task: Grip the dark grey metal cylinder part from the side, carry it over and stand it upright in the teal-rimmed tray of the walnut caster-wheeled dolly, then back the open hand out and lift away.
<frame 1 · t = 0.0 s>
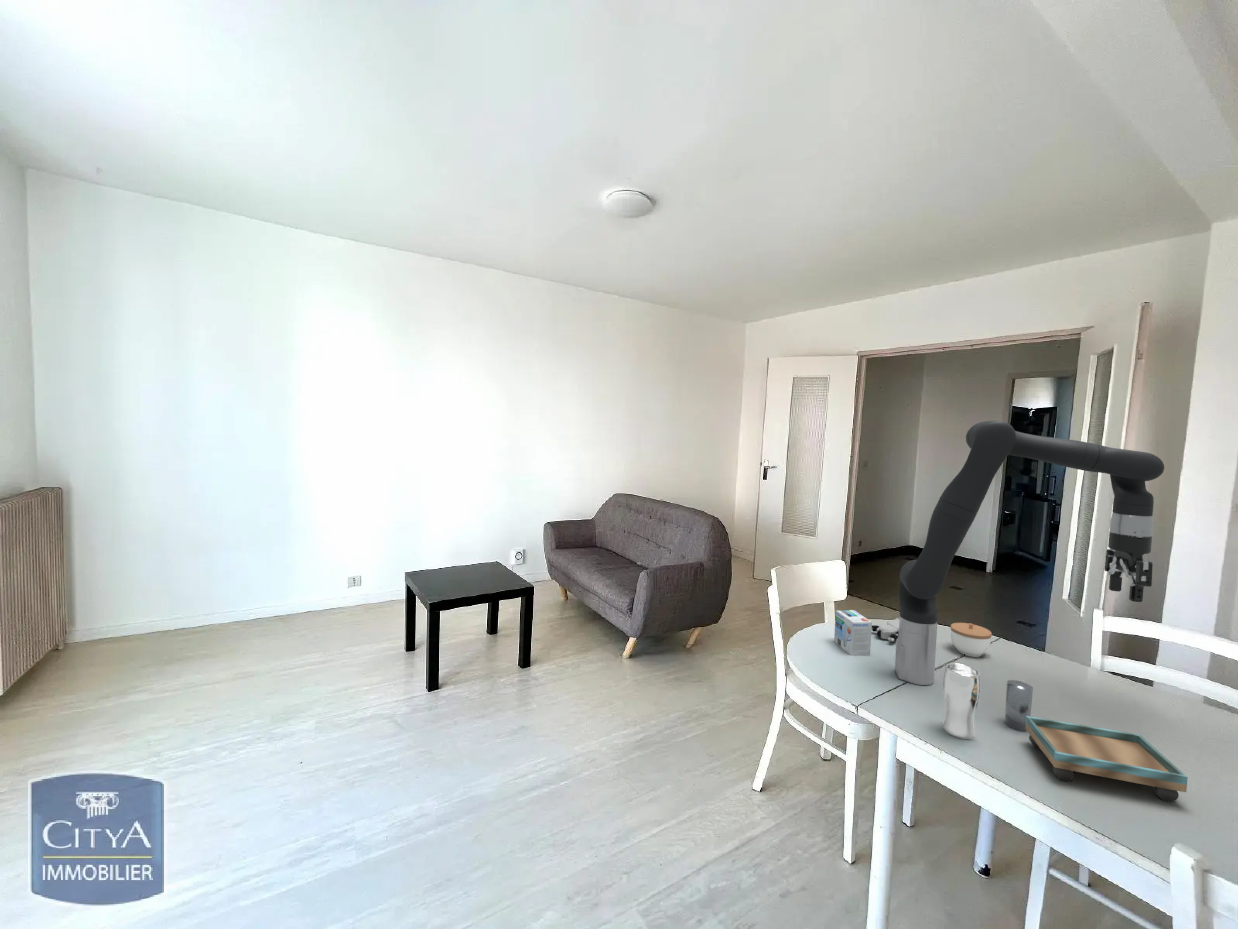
hand: (1124, 596, 127), 29 cm above the table, tool pointing down, fingers open, 8 cm apart
beer glass: (958, 732, 118), on the table
dolly: (1098, 757, 104), point 3 cm above the table, slide at 0.0 cm
metal part: (1016, 725, 121), on the table
lidded jar: (969, 653, 161), on the table
robot toy: (895, 638, 172), on the table
light bulb box: (851, 649, 163), on the table
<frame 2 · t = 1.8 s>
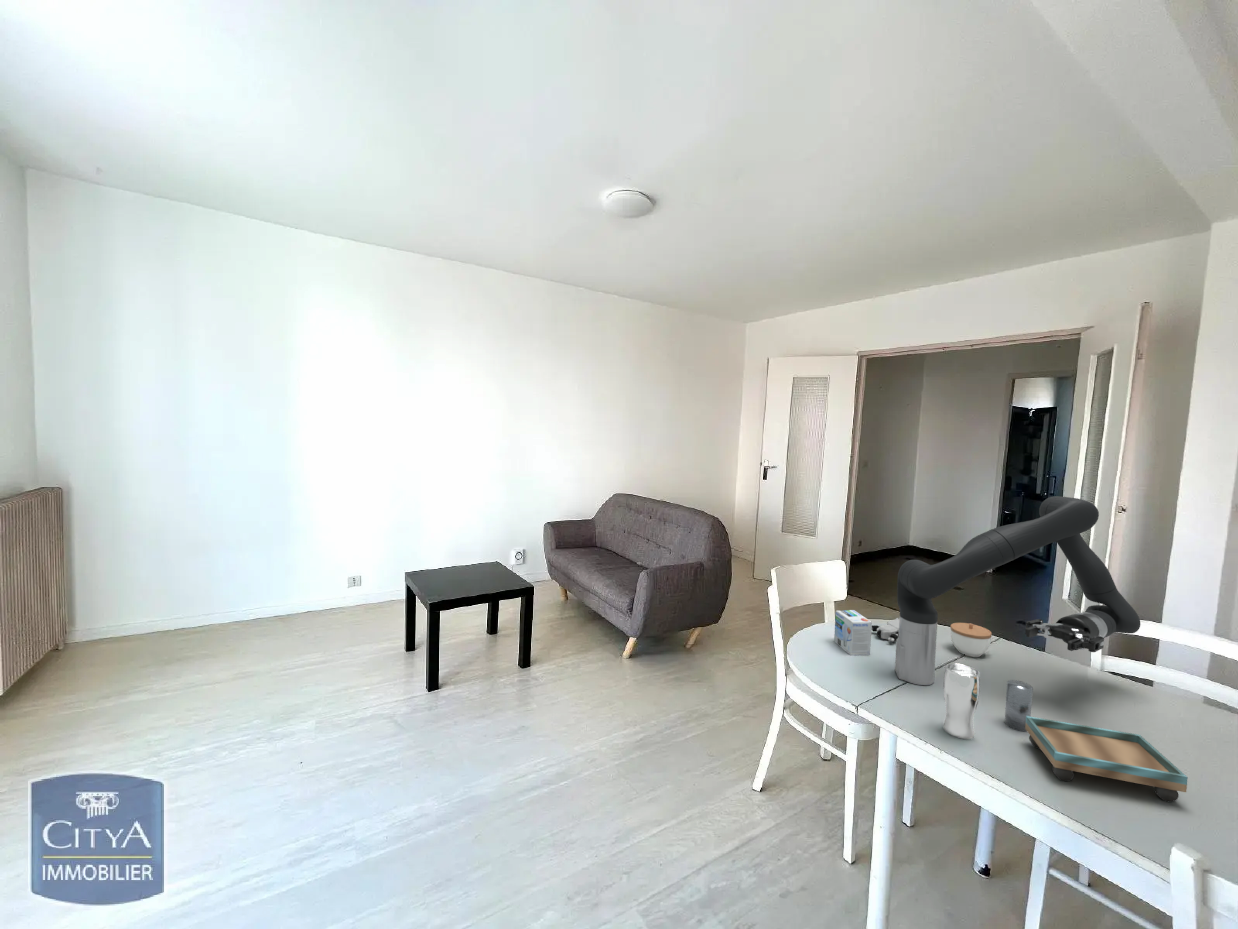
hand: (1048, 639, 124), 19 cm above the table, tool horizontal, fingers open, 8 cm apart
nothing on the table moved.
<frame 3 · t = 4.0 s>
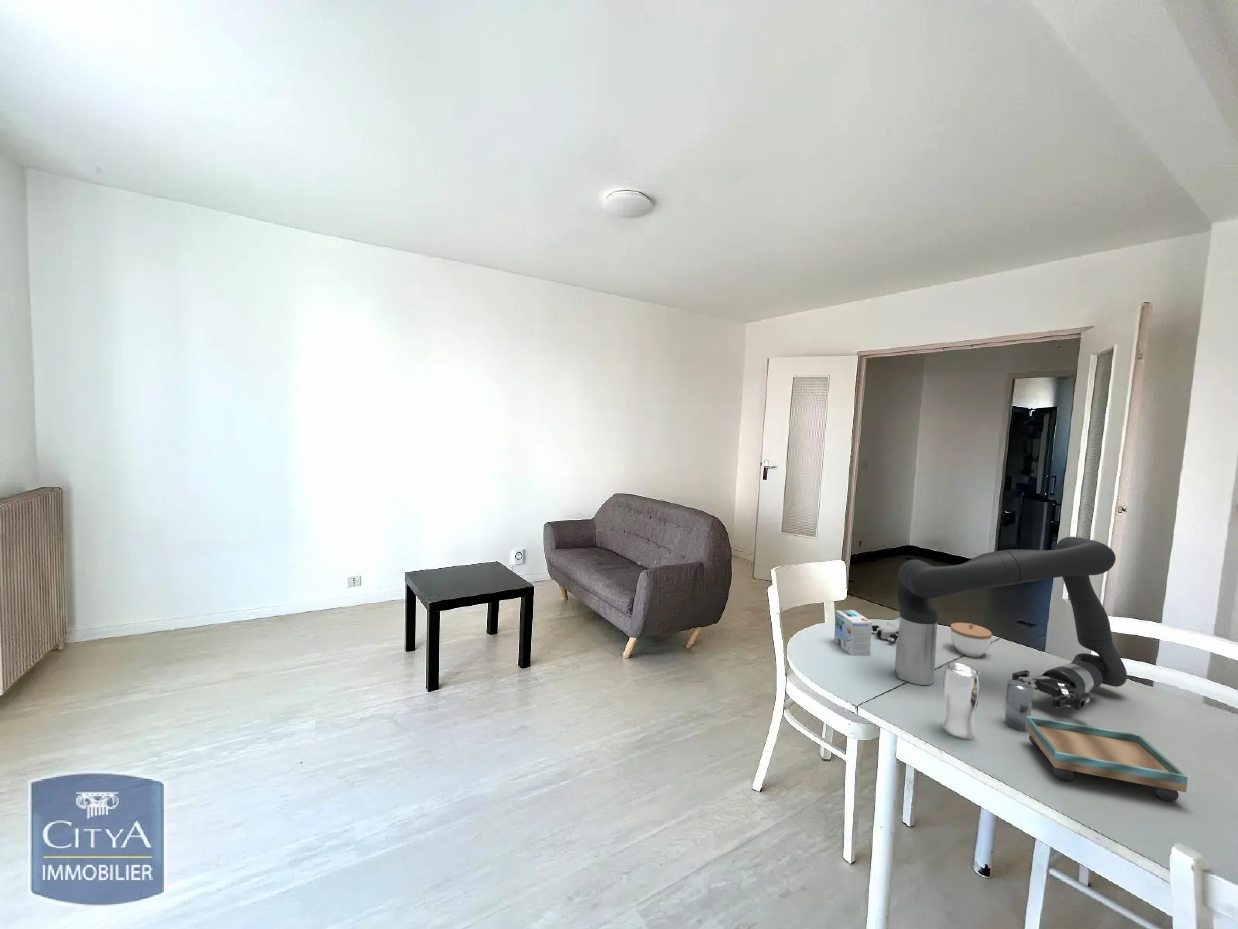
hand: (1033, 695, 123), 6 cm above the table, tool horizontal, fingers open, 8 cm apart
nothing on the table moved.
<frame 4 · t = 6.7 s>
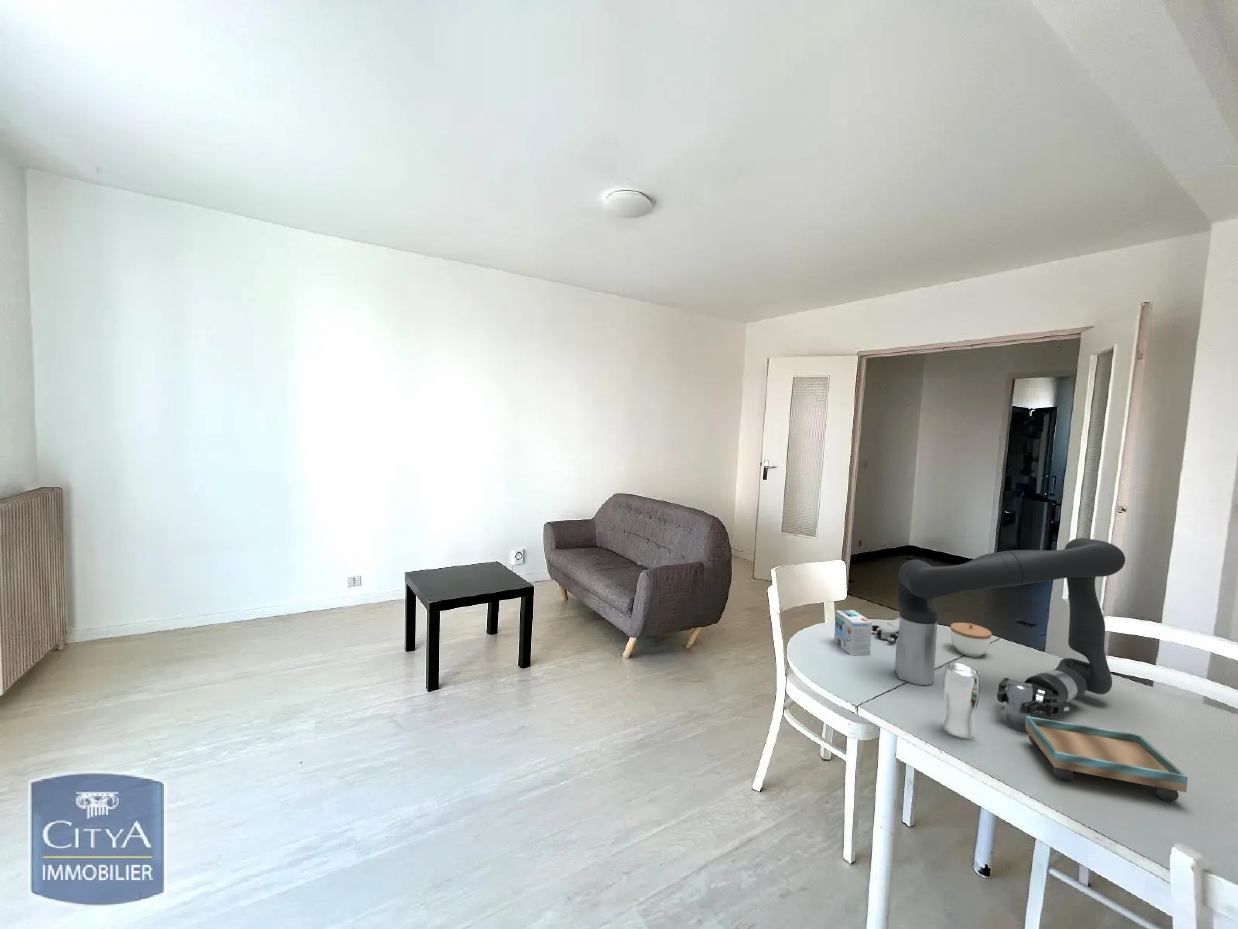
hand: (1012, 703, 119), 6 cm above the table, tool horizontal, fingers closed on metal part, 4 cm apart
metal part: (1017, 725, 121), on the table, touching gripper
everything else where it was.
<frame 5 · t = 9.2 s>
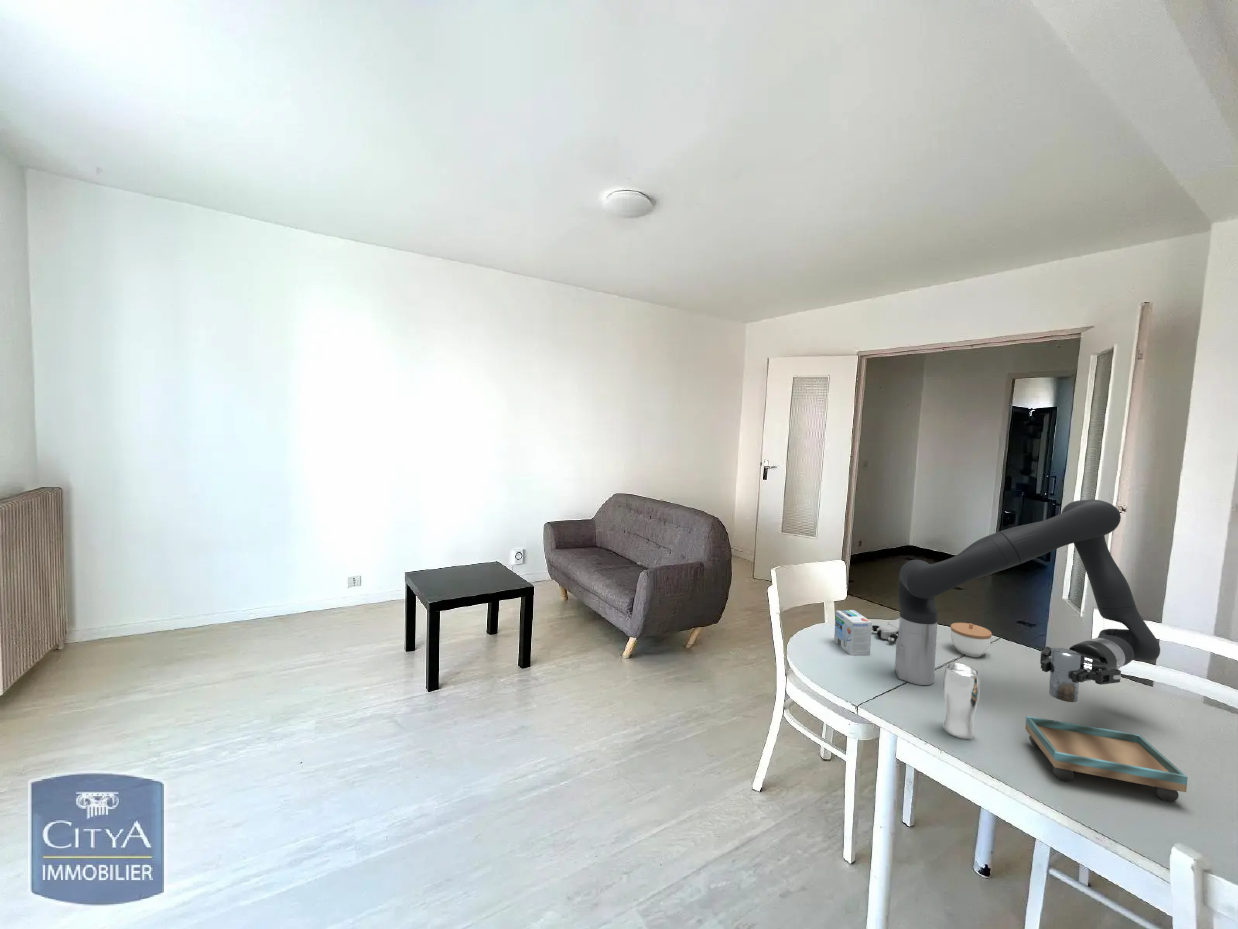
hand: (1059, 672, 110), 18 cm above the table, tool horizontal, fingers closed on metal part, 4 cm apart
metal part: (1063, 696, 111), point 12 cm above the table, touching gripper
everything else where it was.
when the fingers open (12 cm above the table, at t = 11.7 s): metal part drops 1 cm, resting on dolly.
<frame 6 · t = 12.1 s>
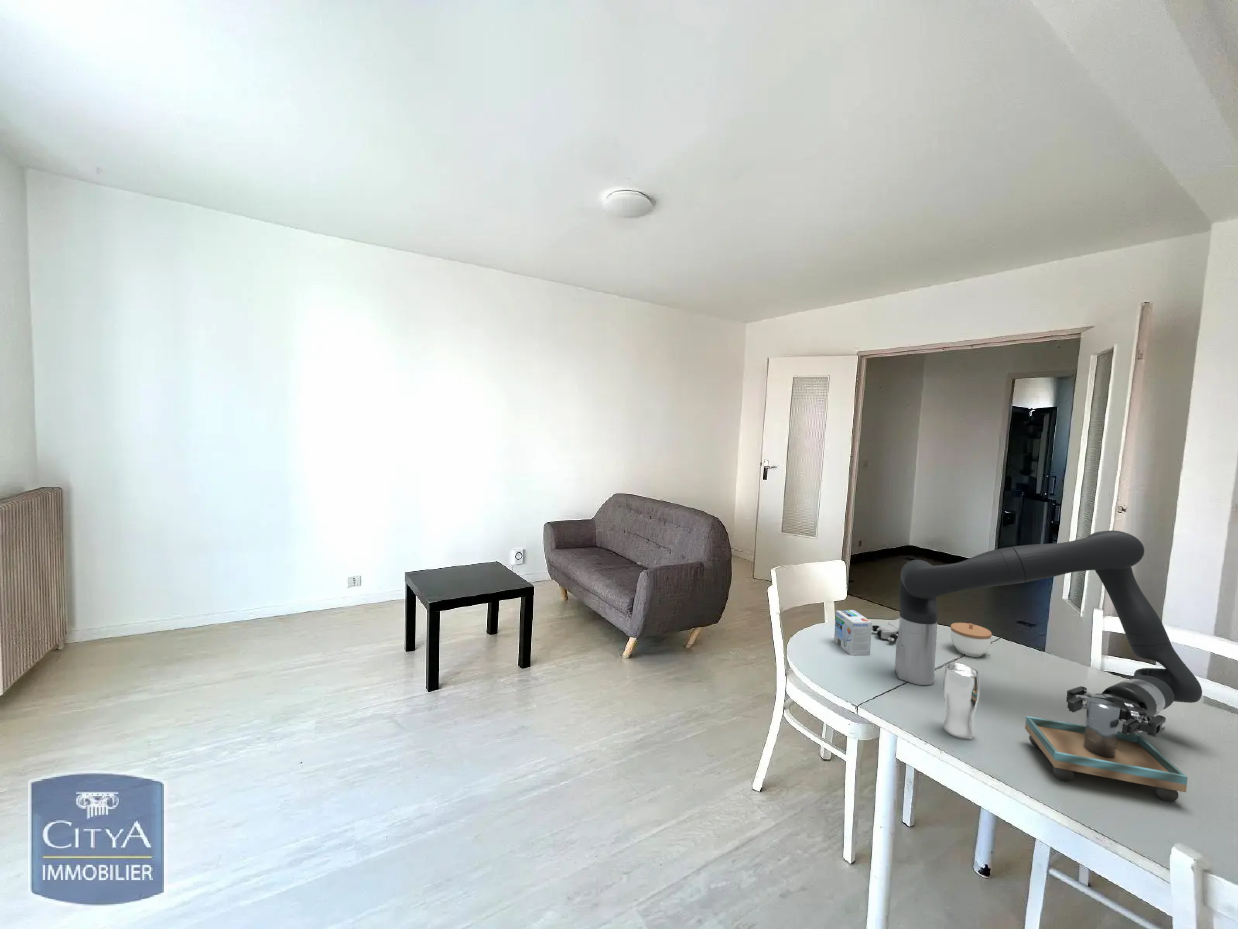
hand: (1096, 717, 103), 12 cm above the table, tool horizontal, fingers open, 8 cm apart
dolly: (1097, 757, 104), point 3 cm above the table, slide at 0.0 cm, touching metal part
metal part: (1099, 750, 104), point 5 cm above the table, touching dolly
everything else where it was.
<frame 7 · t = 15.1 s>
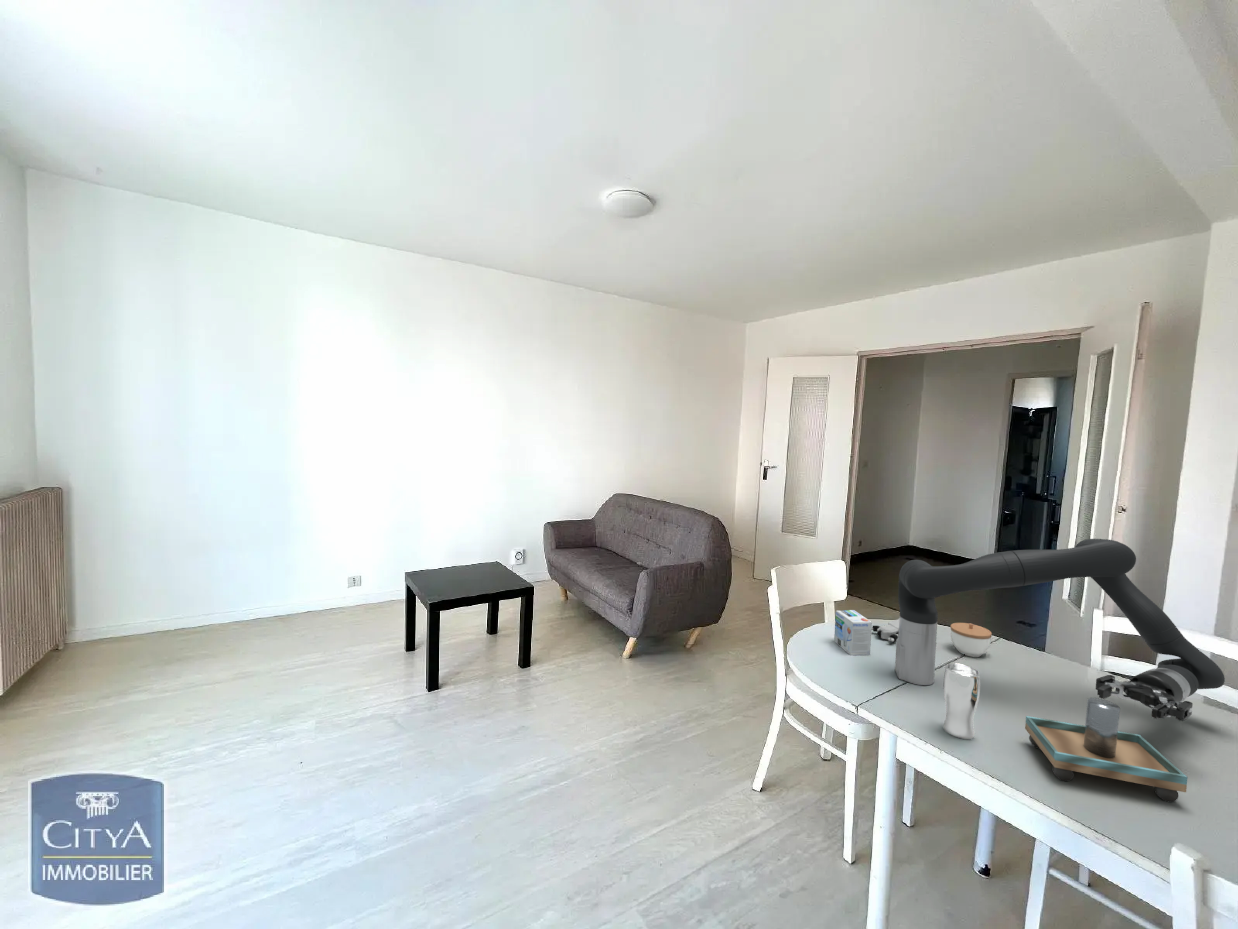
hand: (1126, 703, 108), 12 cm above the table, tool horizontal, fingers open, 8 cm apart
nothing on the table moved.
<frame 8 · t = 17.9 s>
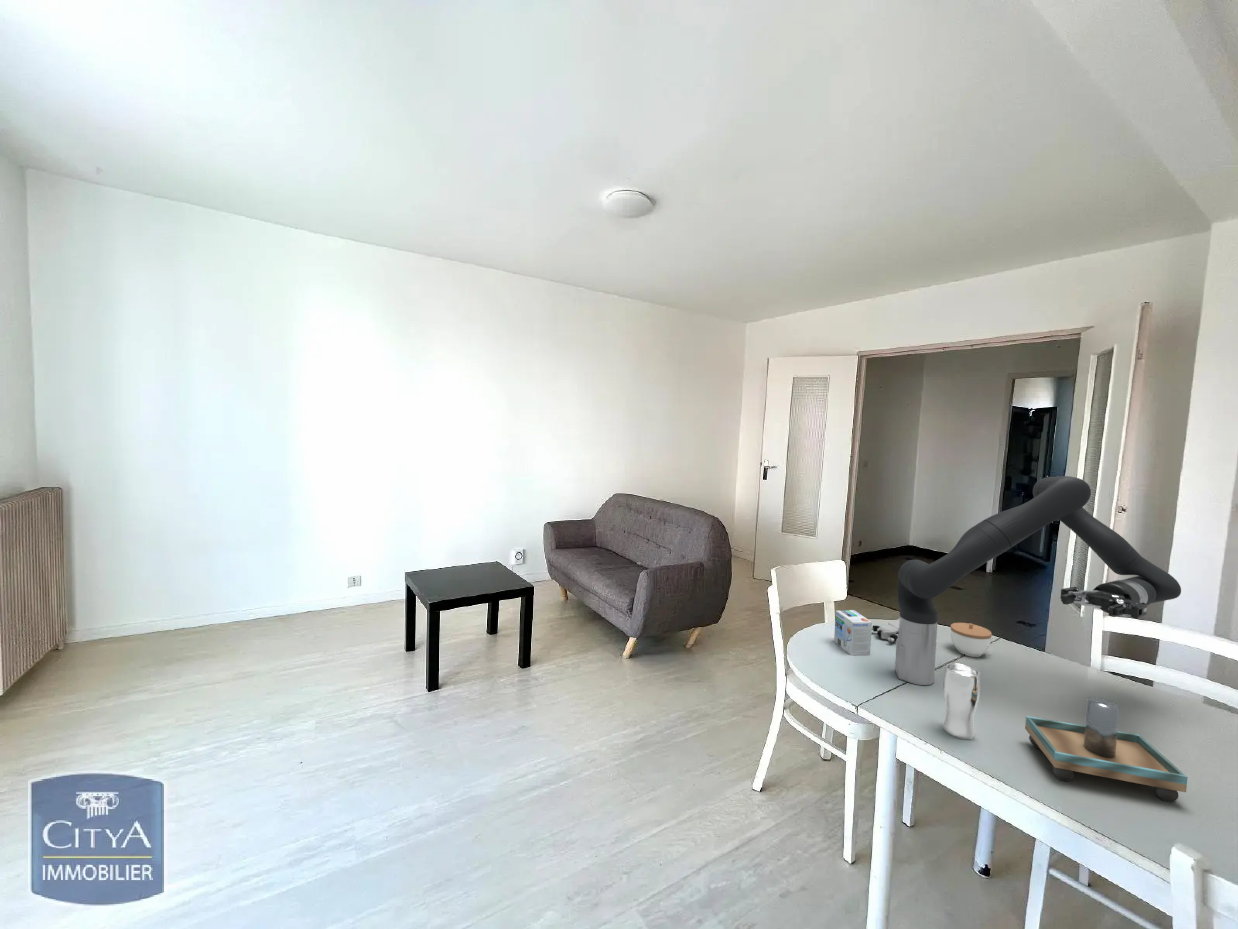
hand: (1086, 605, 117), 30 cm above the table, tool horizontal, fingers open, 8 cm apart
nothing on the table moved.
at the end: metal part inside the target area on the dolly (0.1 cm from its centre), point 4.6 cm above the dolly's base; metal part tilted 2°; the gripper is holding nothing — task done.
